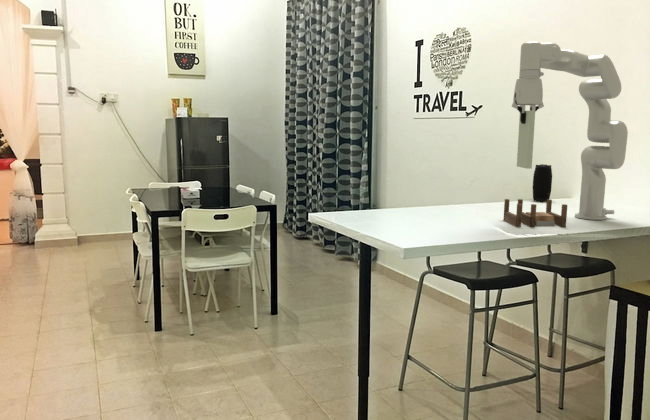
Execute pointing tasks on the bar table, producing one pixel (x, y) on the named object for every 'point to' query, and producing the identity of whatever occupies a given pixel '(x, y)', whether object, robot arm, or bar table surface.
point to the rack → (532, 214)
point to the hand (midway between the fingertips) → (526, 123)
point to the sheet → (526, 141)
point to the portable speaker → (542, 182)
